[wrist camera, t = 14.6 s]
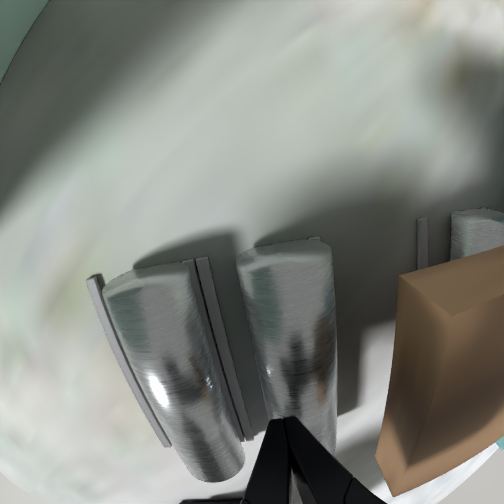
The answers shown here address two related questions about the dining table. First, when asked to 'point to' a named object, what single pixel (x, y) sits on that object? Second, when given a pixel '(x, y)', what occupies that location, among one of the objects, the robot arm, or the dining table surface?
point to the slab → (444, 370)
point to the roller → (475, 232)
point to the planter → (15, 27)
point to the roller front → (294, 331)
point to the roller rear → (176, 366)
